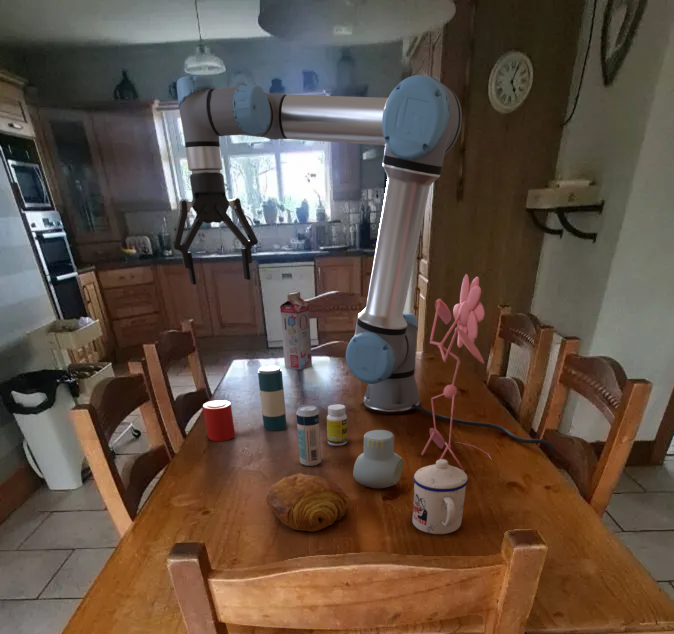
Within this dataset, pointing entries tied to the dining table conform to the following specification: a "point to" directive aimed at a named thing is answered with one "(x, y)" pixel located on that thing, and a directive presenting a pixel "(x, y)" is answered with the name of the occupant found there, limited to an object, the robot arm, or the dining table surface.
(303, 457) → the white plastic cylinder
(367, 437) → the air freshener
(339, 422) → the supplement bottle
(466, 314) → the figurine
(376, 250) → the robot arm
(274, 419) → the spray can
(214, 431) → the cap
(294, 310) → the juice carton
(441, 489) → the teacup with lid
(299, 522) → the croissant
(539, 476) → the dining table surface
